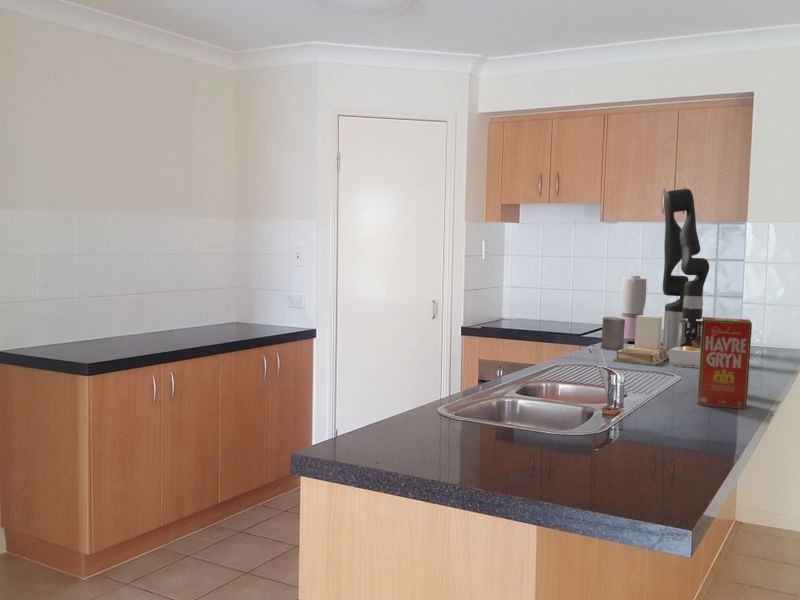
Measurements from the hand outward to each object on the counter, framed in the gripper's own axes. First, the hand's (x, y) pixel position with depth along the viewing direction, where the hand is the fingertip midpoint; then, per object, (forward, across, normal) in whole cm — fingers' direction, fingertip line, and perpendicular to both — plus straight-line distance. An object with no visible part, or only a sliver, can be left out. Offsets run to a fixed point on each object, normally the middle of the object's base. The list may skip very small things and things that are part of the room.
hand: (690, 347), depth 307 cm
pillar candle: (+6, -12, -35) cm, 37 cm away
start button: (+4, +14, +2) cm, 14 cm away
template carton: (+6, +4, -16) cm, 17 cm away
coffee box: (+6, 0, 0) cm, 6 cm away
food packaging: (+6, +88, +25) cm, 91 cm away
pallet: (+6, +12, -16) cm, 21 cm away
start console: (+6, +14, +2) cm, 15 cm away
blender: (+5, -43, -35) cm, 56 cm away
